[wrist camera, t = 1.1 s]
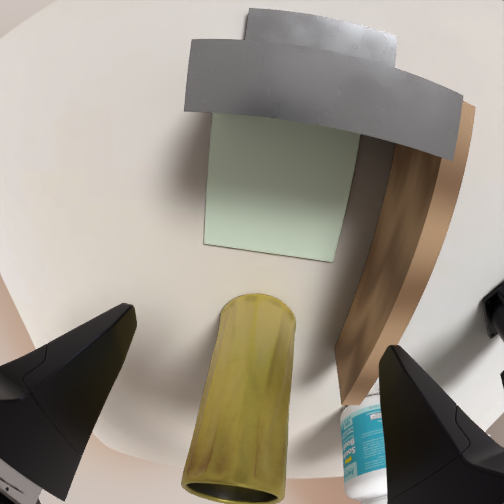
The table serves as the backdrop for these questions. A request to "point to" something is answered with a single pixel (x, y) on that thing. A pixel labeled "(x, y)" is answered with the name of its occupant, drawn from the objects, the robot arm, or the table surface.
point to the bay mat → (278, 185)
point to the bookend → (322, 81)
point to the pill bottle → (364, 452)
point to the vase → (245, 406)
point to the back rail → (400, 258)
